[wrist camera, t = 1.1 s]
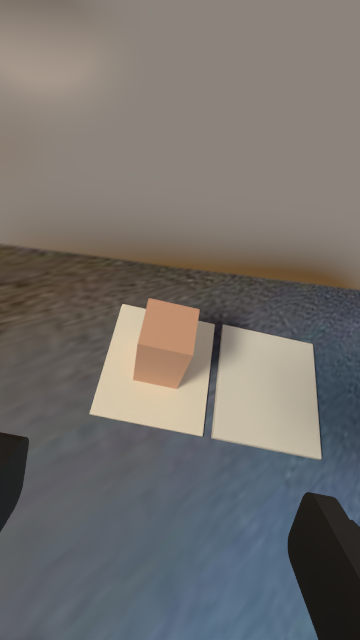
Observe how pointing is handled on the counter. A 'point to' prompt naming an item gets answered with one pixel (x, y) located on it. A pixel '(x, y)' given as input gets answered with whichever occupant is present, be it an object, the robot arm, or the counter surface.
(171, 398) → the cream tile
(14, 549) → the counter surface
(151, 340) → the block
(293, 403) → the beige board
